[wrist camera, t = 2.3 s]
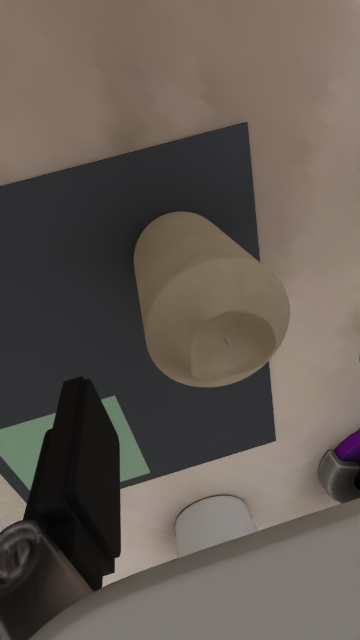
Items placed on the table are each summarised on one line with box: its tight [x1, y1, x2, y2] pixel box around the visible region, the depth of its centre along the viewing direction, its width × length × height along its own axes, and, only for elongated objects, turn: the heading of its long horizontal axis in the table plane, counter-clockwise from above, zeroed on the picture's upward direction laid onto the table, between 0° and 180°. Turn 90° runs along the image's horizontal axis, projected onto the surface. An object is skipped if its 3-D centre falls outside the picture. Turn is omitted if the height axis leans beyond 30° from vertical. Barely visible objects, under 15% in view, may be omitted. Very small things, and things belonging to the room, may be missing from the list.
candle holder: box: [175, 496, 258, 558], centre depth 29 cm, size 10×10×12 cm
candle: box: [134, 212, 290, 387], centre depth 15 cm, size 6×6×10 cm
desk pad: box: [0, 122, 276, 503], centre depth 22 cm, size 26×23×1 cm
